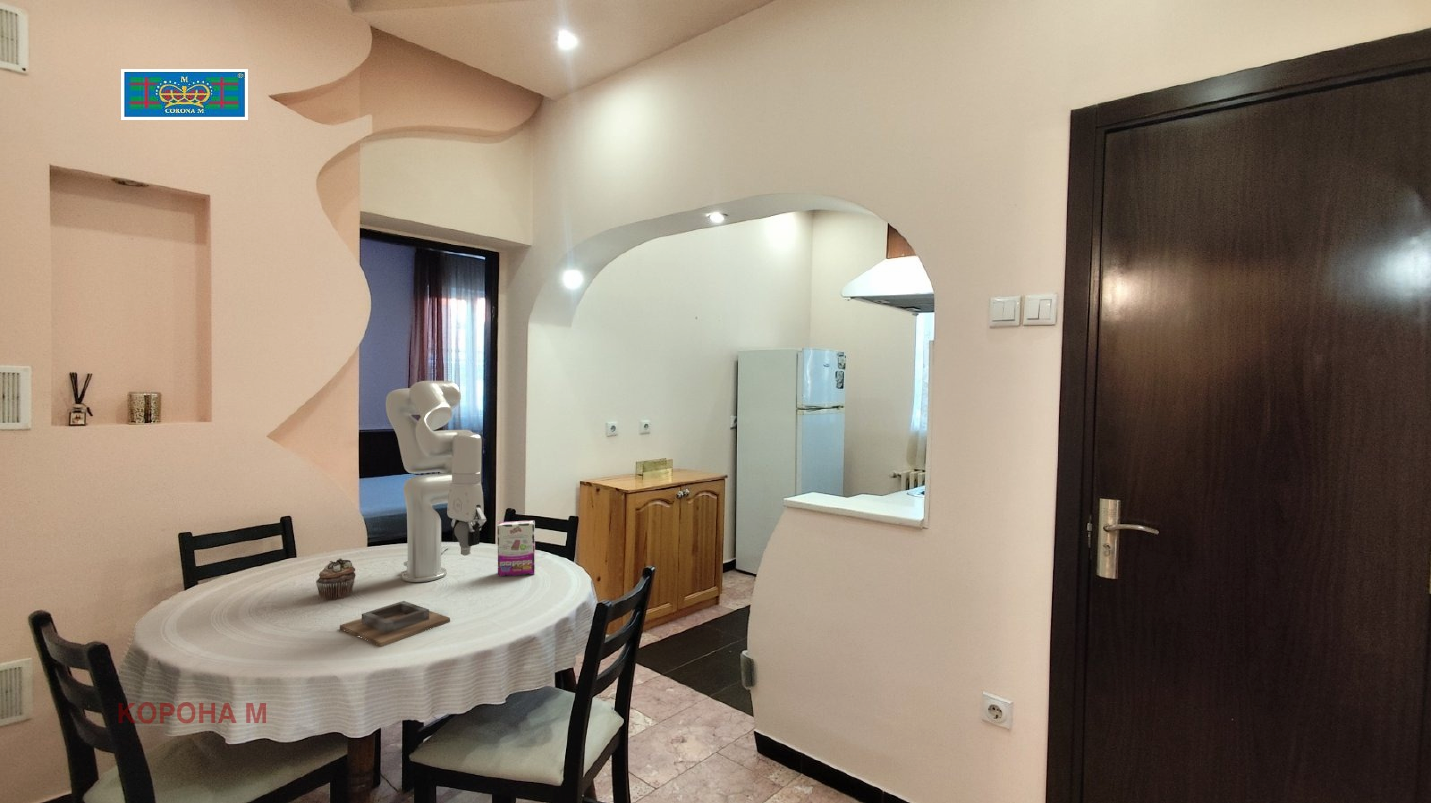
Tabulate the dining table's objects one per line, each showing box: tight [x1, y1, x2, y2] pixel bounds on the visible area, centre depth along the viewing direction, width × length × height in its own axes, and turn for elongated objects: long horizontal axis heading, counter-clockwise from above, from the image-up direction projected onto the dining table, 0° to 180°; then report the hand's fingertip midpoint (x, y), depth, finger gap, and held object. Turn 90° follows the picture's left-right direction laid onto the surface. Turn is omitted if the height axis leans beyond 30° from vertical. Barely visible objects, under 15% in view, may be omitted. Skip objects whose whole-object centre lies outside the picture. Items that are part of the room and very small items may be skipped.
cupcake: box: [315, 558, 356, 601], centre depth 180 cm, size 10×10×10 cm
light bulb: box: [454, 521, 476, 556], centre depth 175 cm, size 6×6×10 cm
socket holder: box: [339, 600, 451, 648], centre depth 159 cm, size 18×18×4 cm
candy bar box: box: [497, 520, 536, 577], centre depth 201 cm, size 11×5×16 cm, turn 104°
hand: (465, 542), depth 175 cm, fingers closed on light bulb, 6 cm apart
